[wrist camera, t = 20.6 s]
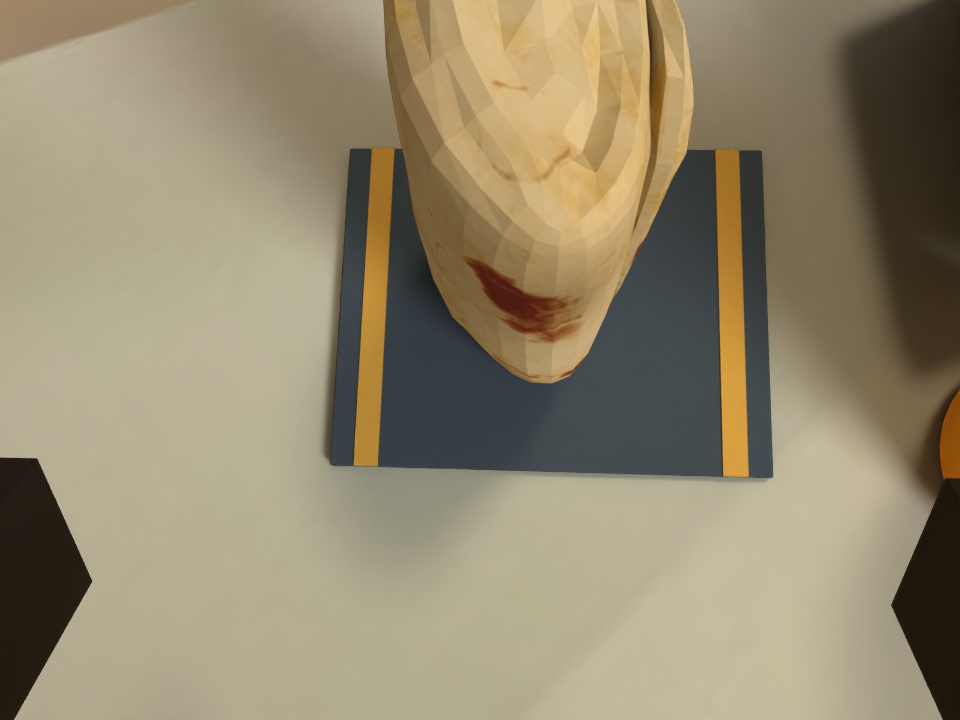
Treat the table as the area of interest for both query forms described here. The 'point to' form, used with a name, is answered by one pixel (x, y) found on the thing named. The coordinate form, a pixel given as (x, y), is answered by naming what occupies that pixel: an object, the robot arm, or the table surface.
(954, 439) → the beer bottle
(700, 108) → the table surface
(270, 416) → the table surface
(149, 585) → the table surface
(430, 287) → the towel
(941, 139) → the table surface
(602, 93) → the food model
